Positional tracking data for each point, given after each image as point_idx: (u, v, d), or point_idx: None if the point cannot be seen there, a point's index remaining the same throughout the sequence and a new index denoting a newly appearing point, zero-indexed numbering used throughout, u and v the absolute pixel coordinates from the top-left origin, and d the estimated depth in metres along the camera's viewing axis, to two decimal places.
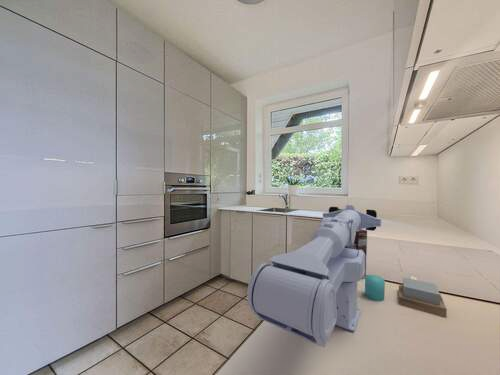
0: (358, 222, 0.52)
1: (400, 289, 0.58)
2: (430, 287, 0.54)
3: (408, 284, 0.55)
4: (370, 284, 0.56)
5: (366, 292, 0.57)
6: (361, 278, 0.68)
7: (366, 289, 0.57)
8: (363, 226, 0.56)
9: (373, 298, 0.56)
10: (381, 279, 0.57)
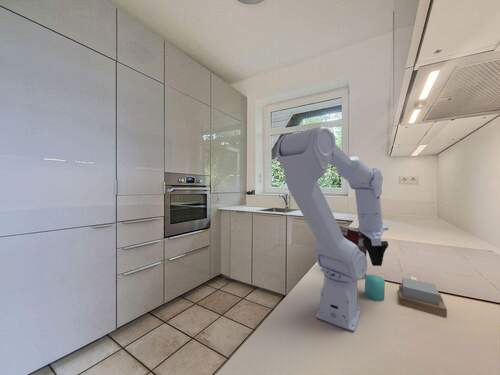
0: (372, 215, 0.54)
1: (400, 289, 0.58)
2: (429, 287, 0.54)
3: (408, 284, 0.55)
4: (370, 284, 0.56)
5: (366, 292, 0.57)
6: (361, 278, 0.68)
7: (366, 289, 0.57)
8: (366, 233, 0.55)
9: (373, 298, 0.56)
10: (381, 279, 0.57)
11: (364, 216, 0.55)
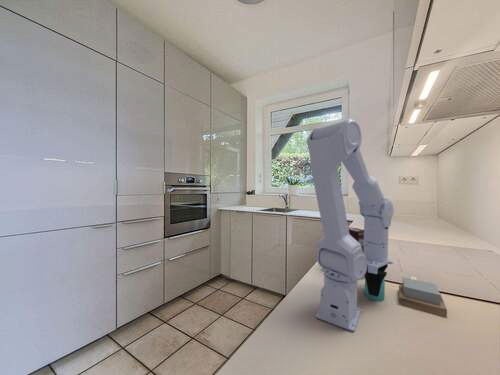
0: (376, 244, 0.55)
1: (400, 289, 0.58)
2: (430, 287, 0.54)
3: (408, 284, 0.55)
4: None
5: (366, 292, 0.57)
6: (361, 278, 0.68)
7: (366, 289, 0.57)
8: (367, 261, 0.56)
9: (373, 298, 0.56)
10: None
11: (368, 244, 0.56)
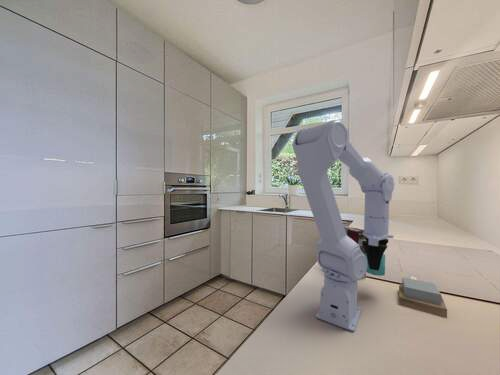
0: (377, 218, 0.55)
1: (400, 289, 0.58)
2: (430, 287, 0.54)
3: (409, 284, 0.55)
4: None
5: (367, 267, 0.57)
6: (361, 278, 0.68)
7: (367, 264, 0.57)
8: None
9: (374, 273, 0.56)
10: None
11: (369, 218, 0.56)
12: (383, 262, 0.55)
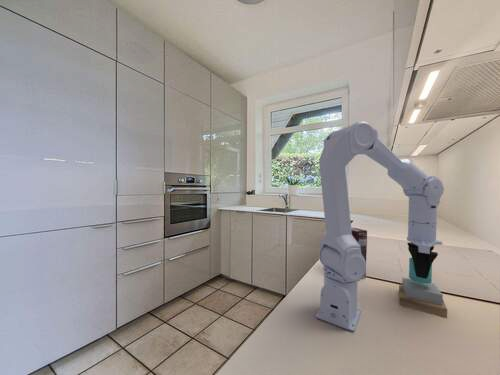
0: (425, 223, 0.52)
1: (400, 289, 0.58)
2: (430, 287, 0.54)
3: (410, 285, 0.55)
4: None
5: (412, 275, 0.55)
6: (361, 278, 0.68)
7: (412, 272, 0.55)
8: None
9: (421, 281, 0.53)
10: None
11: (415, 224, 0.54)
12: (430, 269, 0.53)
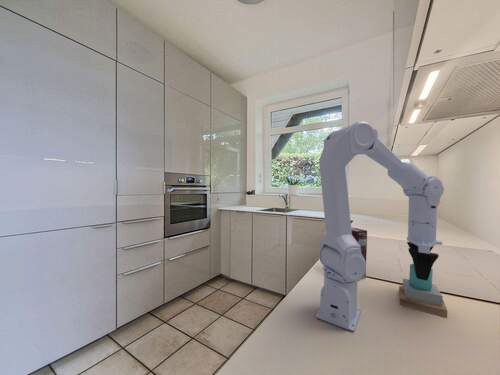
0: (425, 223, 0.52)
1: (400, 290, 0.58)
2: None
3: (410, 286, 0.55)
4: None
5: (412, 281, 0.55)
6: (361, 278, 0.68)
7: (412, 278, 0.55)
8: None
9: (421, 287, 0.53)
10: None
11: (415, 224, 0.54)
12: (431, 276, 0.53)
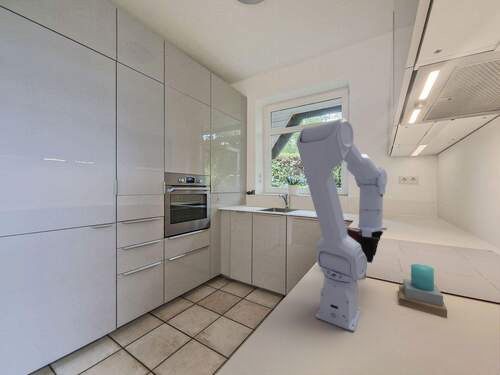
0: (371, 211, 0.57)
1: (400, 290, 0.58)
2: None
3: (410, 286, 0.55)
4: (418, 273, 0.53)
5: (414, 282, 0.54)
6: (361, 278, 0.68)
7: (414, 279, 0.54)
8: None
9: (423, 288, 0.53)
10: (429, 268, 0.54)
11: (363, 211, 0.58)
12: (432, 276, 0.53)
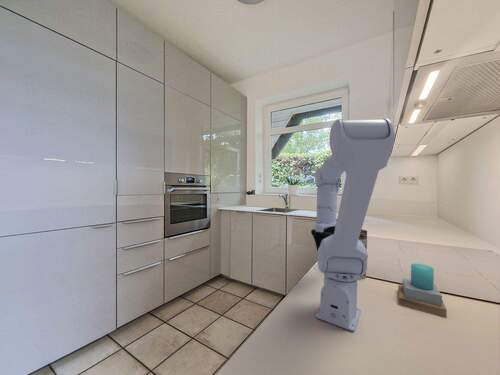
0: (325, 208, 0.61)
1: (400, 289, 0.58)
2: None
3: (409, 285, 0.55)
4: (418, 272, 0.54)
5: (413, 281, 0.55)
6: (361, 278, 0.68)
7: (413, 278, 0.55)
8: None
9: (422, 287, 0.53)
10: (429, 267, 0.54)
11: (319, 208, 0.63)
12: (432, 276, 0.53)
